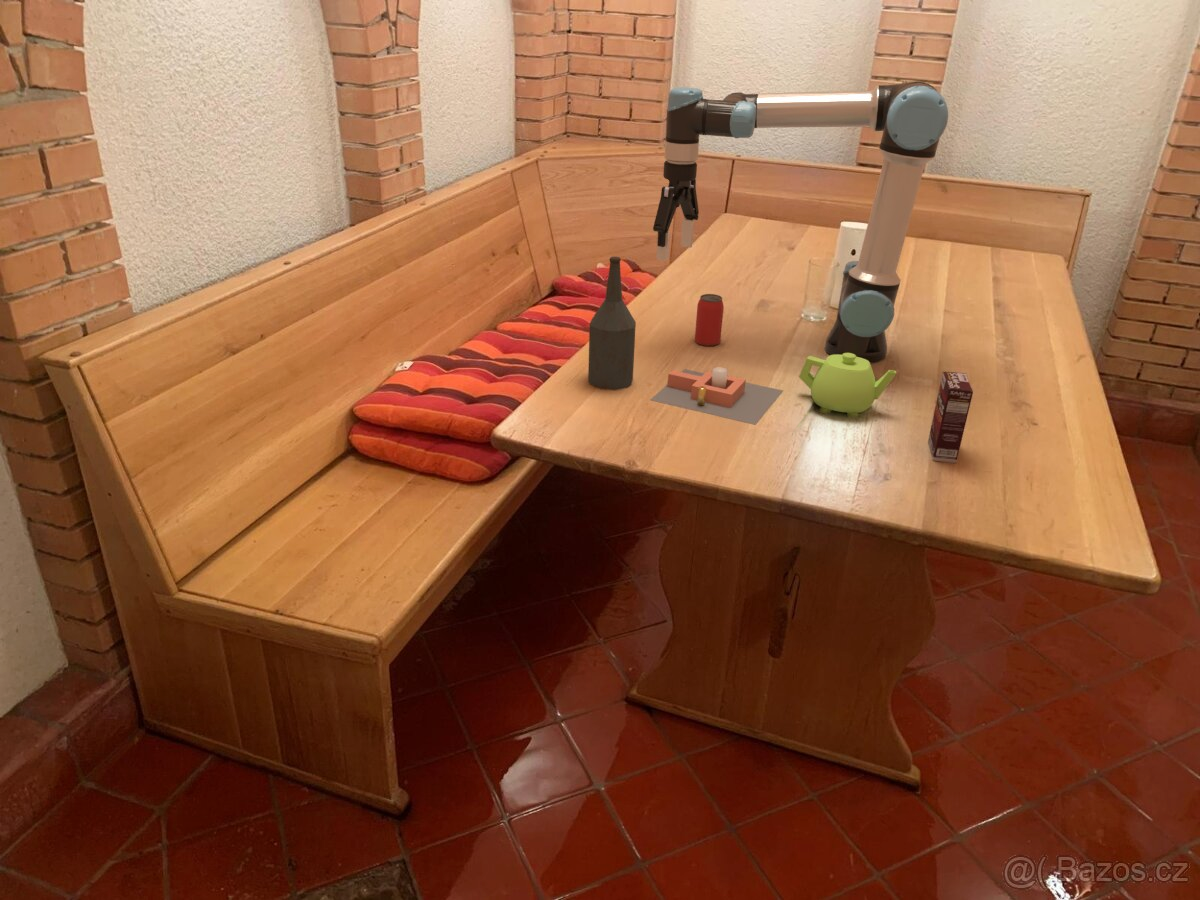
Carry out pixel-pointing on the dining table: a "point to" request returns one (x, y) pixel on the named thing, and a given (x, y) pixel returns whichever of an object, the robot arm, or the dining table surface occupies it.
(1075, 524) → the dining table surface
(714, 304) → the beer can
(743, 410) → the board
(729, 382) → the square nut
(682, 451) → the dining table surface
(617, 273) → the bottle
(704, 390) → the gold metal capsule
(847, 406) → the teapot
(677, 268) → the dining table surface
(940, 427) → the supplement box
